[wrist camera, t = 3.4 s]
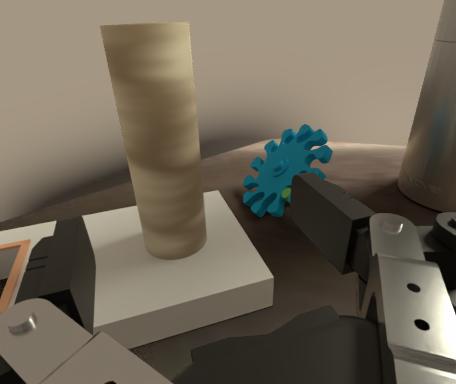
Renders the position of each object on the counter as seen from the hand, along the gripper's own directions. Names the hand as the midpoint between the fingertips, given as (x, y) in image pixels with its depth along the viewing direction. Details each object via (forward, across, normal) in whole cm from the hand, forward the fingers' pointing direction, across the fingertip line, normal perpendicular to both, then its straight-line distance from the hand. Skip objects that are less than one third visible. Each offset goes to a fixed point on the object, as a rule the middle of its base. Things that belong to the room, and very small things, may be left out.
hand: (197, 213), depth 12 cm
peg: (+9, 0, +8) cm, 12 cm away
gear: (+14, -11, +10) cm, 21 cm away
